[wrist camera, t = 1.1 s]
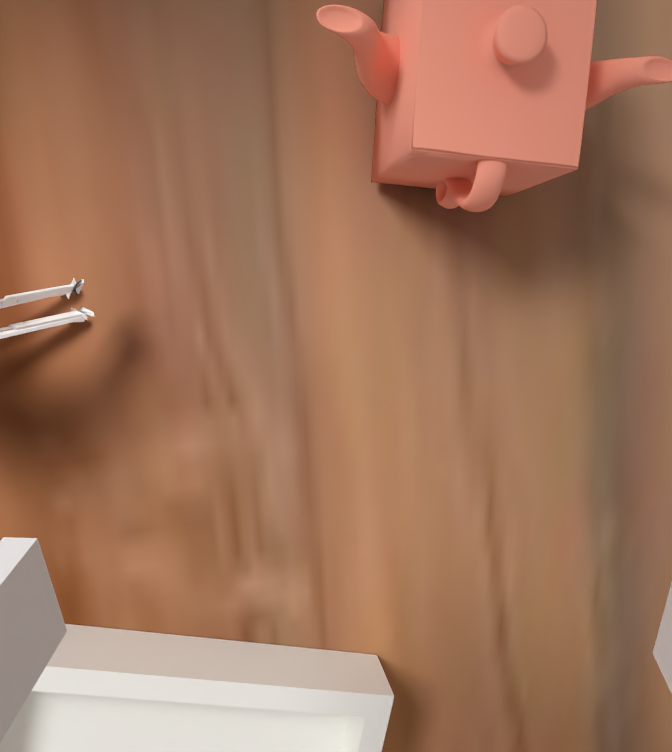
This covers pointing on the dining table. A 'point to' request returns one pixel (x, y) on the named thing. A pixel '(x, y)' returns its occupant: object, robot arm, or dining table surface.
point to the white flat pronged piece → (45, 321)
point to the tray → (200, 697)
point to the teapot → (482, 91)
